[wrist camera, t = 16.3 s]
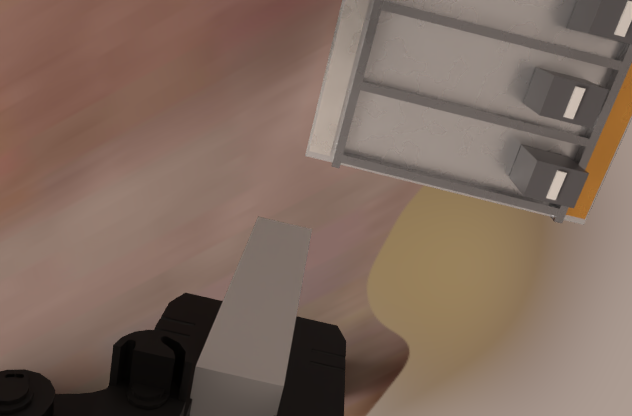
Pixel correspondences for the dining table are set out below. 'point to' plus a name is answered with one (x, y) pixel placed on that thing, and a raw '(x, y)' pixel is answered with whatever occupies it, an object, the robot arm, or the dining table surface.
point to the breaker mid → (565, 97)
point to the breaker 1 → (548, 176)
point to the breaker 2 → (603, 19)
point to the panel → (465, 95)
